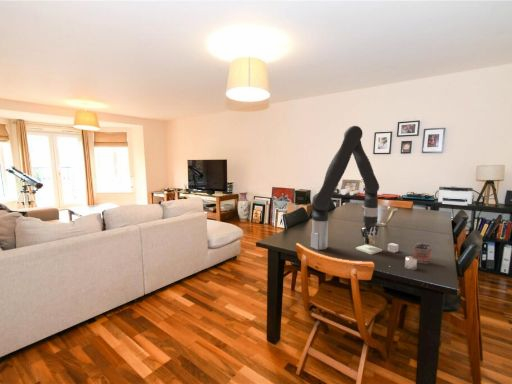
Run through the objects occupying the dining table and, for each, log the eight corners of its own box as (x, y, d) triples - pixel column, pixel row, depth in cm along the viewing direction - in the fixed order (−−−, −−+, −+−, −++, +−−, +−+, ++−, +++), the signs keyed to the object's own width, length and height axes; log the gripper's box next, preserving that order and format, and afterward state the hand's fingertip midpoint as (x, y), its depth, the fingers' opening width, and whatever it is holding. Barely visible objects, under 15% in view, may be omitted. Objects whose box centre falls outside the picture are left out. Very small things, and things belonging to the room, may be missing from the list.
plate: (371, 254, 142) (371, 252, 142) (356, 249, 150) (356, 247, 150) (381, 251, 147) (381, 249, 147) (366, 246, 155) (366, 244, 155)
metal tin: (413, 270, 121) (413, 260, 120) (402, 267, 125) (403, 257, 125) (418, 268, 124) (419, 258, 123) (408, 264, 128) (408, 255, 127)
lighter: (412, 262, 131) (414, 243, 130) (411, 259, 134) (412, 241, 133) (431, 264, 128) (432, 245, 127) (429, 261, 132) (430, 243, 130)
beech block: (370, 245, 146) (370, 237, 145) (364, 244, 149) (364, 235, 148) (374, 244, 148) (374, 236, 147) (368, 242, 151) (368, 234, 150)
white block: (394, 252, 145) (394, 246, 144) (387, 250, 148) (387, 244, 148) (398, 251, 147) (398, 244, 146) (391, 249, 150) (391, 242, 150)
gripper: (372, 212, 153) (371, 239, 155) (357, 215, 146) (356, 243, 148) (384, 214, 146) (382, 242, 149) (368, 217, 139) (367, 247, 141)
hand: (369, 243), depth 148 cm, fingers closed on beech block, 4 cm apart
